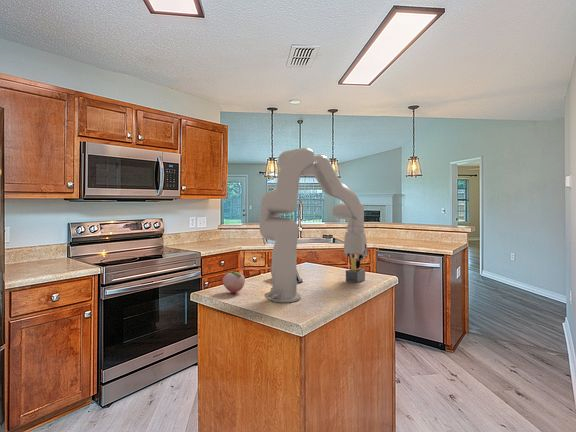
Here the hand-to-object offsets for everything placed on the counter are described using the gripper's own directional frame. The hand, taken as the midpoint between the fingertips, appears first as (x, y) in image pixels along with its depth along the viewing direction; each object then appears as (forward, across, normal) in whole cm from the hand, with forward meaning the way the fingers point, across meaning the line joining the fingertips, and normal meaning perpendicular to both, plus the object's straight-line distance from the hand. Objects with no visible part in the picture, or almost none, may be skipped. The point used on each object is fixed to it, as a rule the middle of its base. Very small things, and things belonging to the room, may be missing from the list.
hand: (355, 267), depth 160 cm
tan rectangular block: (+5, 0, 0) cm, 5 cm away
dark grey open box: (+6, 0, 0) cm, 6 cm away
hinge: (+7, -26, -21) cm, 34 cm away
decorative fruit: (+6, -30, -50) cm, 58 cm away
